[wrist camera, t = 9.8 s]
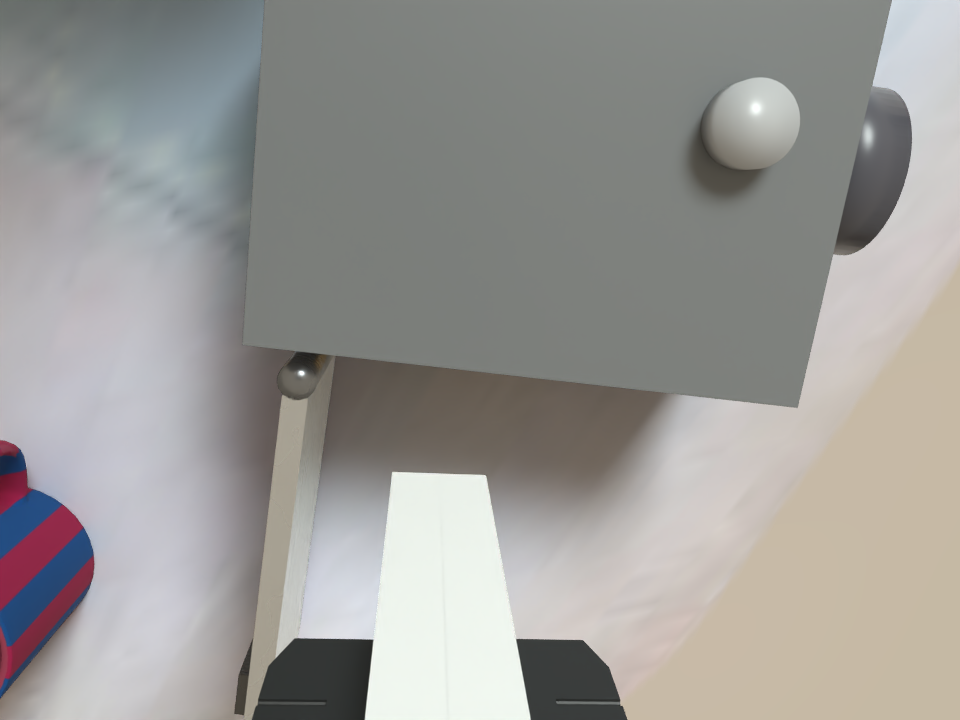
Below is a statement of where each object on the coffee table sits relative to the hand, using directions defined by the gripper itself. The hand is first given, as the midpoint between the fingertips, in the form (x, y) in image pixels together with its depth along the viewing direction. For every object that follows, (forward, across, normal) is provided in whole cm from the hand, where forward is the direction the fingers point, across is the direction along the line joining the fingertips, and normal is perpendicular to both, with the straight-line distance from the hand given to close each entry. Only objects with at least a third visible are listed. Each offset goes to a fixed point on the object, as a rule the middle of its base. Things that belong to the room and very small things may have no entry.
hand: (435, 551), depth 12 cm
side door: (+19, -5, -7) cm, 21 cm away
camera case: (+20, +5, +5) cm, 21 cm away
